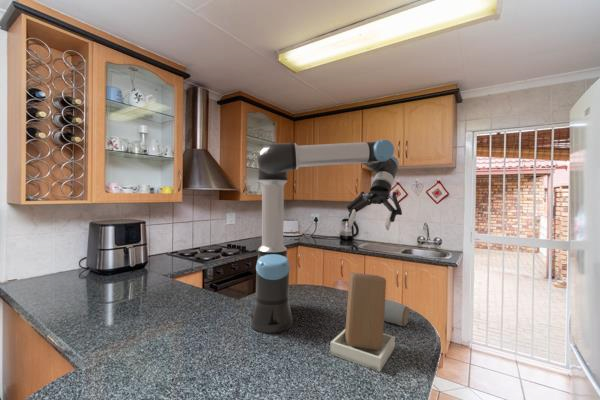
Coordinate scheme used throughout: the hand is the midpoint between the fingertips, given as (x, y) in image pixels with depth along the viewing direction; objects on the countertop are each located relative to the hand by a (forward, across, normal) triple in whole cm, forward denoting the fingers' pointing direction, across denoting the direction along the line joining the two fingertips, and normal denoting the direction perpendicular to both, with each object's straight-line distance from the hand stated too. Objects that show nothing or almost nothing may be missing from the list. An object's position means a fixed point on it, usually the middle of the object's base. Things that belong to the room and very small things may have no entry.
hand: (367, 226), depth 102 cm
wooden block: (+35, -5, -12) cm, 38 cm away
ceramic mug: (+18, -8, -33) cm, 38 cm away
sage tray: (+36, -6, -14) cm, 39 cm away
